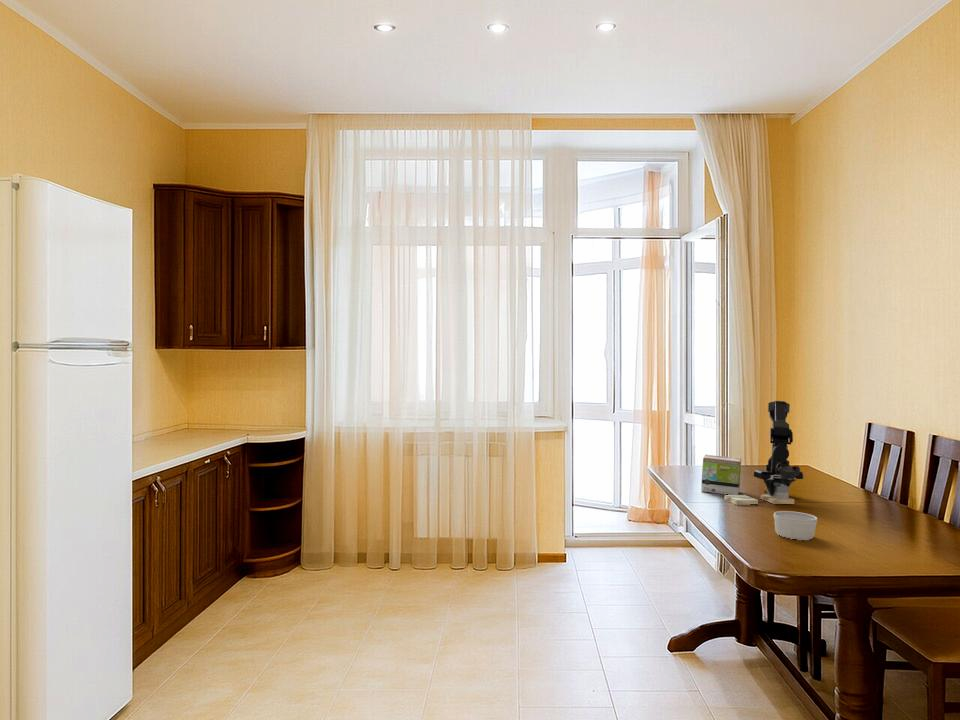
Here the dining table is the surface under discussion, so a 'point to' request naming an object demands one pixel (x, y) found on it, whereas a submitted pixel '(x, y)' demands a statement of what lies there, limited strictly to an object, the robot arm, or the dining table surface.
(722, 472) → the tea box
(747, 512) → the dining table surface
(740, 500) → the stand
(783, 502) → the stand
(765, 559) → the dining table surface
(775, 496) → the block
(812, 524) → the ramekin
